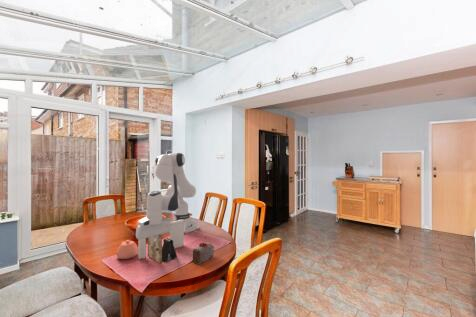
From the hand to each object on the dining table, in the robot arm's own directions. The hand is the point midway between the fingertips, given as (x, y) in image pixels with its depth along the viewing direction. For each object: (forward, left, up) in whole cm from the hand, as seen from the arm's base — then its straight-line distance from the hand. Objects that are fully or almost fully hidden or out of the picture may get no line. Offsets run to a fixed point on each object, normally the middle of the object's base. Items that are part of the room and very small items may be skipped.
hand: (154, 243), depth 129 cm
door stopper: (-9, 0, -12) cm, 15 cm away
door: (-2, -4, -12) cm, 13 cm away
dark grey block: (-24, +16, -12) cm, 31 cm away
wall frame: (-12, -12, -12) cm, 21 cm away
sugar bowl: (+8, -21, -12) cm, 26 cm away
